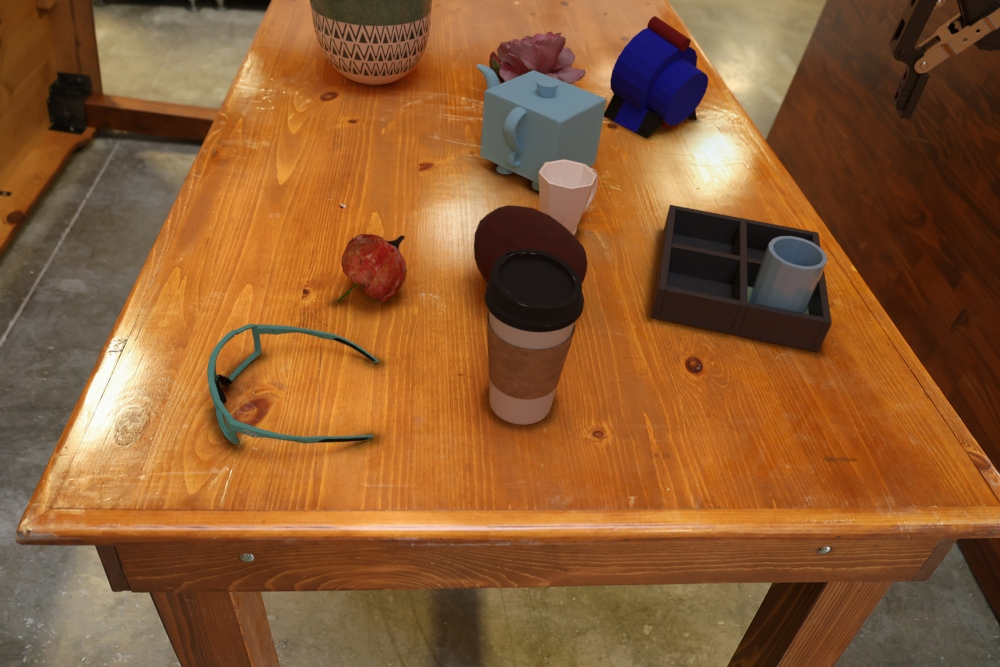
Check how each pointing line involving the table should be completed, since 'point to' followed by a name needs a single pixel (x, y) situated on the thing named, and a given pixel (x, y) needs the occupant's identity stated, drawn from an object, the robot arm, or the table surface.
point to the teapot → (538, 123)
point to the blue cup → (788, 274)
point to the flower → (535, 58)
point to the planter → (372, 36)
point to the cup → (566, 191)
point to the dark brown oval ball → (525, 238)
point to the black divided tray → (730, 280)
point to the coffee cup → (529, 331)
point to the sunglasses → (219, 380)
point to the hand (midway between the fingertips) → (958, 125)
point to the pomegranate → (374, 265)
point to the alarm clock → (655, 80)
